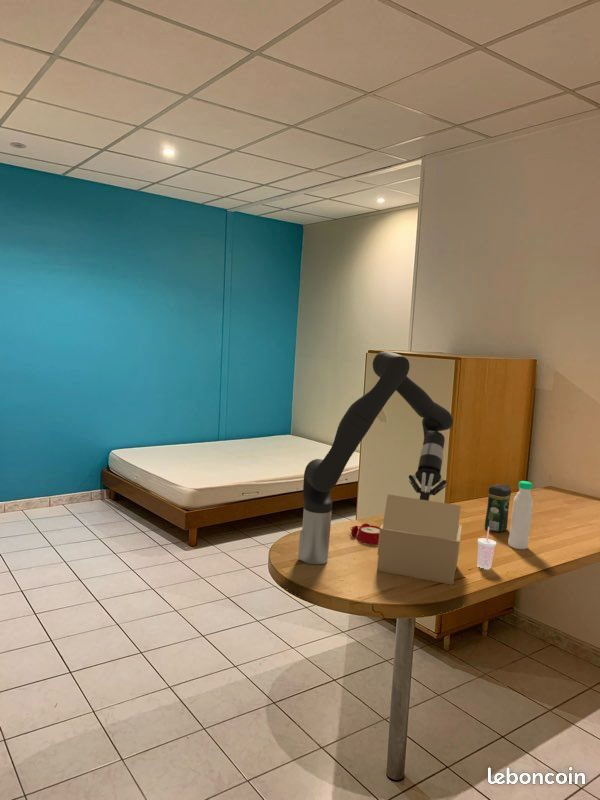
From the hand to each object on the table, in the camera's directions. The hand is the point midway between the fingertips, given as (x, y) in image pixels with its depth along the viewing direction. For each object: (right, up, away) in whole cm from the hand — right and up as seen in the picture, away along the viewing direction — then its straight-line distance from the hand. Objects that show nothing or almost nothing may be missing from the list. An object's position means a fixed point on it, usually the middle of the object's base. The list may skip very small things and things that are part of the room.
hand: (423, 503), depth 197 cm
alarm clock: (-15, -18, +30) cm, 39 cm away
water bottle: (+42, -22, +34) cm, 58 cm away
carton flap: (-1, -4, -4) cm, 5 cm away
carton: (-1, -22, +5) cm, 22 cm away
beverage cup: (+23, -23, +11) cm, 34 cm away
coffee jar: (+40, -20, +53) cm, 69 cm away
